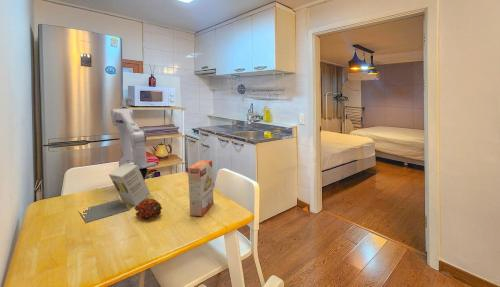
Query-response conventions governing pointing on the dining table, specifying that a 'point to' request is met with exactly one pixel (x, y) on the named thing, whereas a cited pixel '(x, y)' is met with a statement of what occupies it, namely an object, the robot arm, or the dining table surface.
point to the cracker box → (200, 187)
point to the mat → (104, 210)
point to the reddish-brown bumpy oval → (148, 208)
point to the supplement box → (129, 184)
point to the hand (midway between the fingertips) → (142, 183)
